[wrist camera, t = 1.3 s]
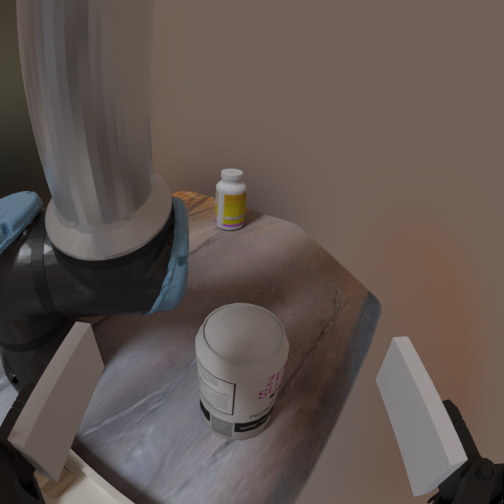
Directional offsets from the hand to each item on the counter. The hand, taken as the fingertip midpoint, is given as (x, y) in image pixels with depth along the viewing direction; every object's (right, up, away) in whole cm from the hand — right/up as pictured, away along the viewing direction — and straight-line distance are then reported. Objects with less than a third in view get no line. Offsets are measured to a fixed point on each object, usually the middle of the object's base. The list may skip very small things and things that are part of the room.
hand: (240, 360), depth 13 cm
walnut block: (-21, -20, +9) cm, 30 cm away
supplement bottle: (-5, +11, +60) cm, 61 cm away
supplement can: (-2, -15, +21) cm, 26 cm away
